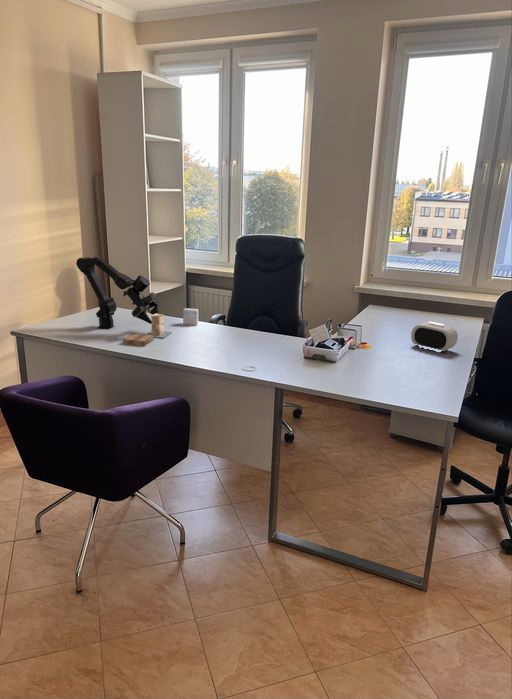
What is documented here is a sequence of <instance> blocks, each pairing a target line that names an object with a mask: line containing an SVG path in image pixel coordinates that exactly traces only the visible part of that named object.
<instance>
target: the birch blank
mask: <svg viewBox="0 0 512 699" xmlns="http://www.w3.org/2000/svg"><path fill="white" fill-rule="evenodd" d="M164 316H165V314H161V313H159V314H154V315H152V314H151V321H152V323H151V330H152V334H153V335H161V334H163V333H164V331H165V326H164V325H165V324H164V323H165V322H164V320H165V319H164V318H165V317H164Z"/></svg>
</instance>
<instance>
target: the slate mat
mask: <svg viewBox="0 0 512 699" xmlns="http://www.w3.org/2000/svg"><path fill="white" fill-rule="evenodd" d="M145 334H146V335H153V334H152V329H151V330H150V331H148V332H147V333H145ZM171 334H173V332H172V331H166V330H164V333H163V334H161V335H153V339H154V338H155V339H162V338H163V340H164V339H166V338H167V337H169V336H170V335H171ZM168 335H169V336H168Z"/></svg>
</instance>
